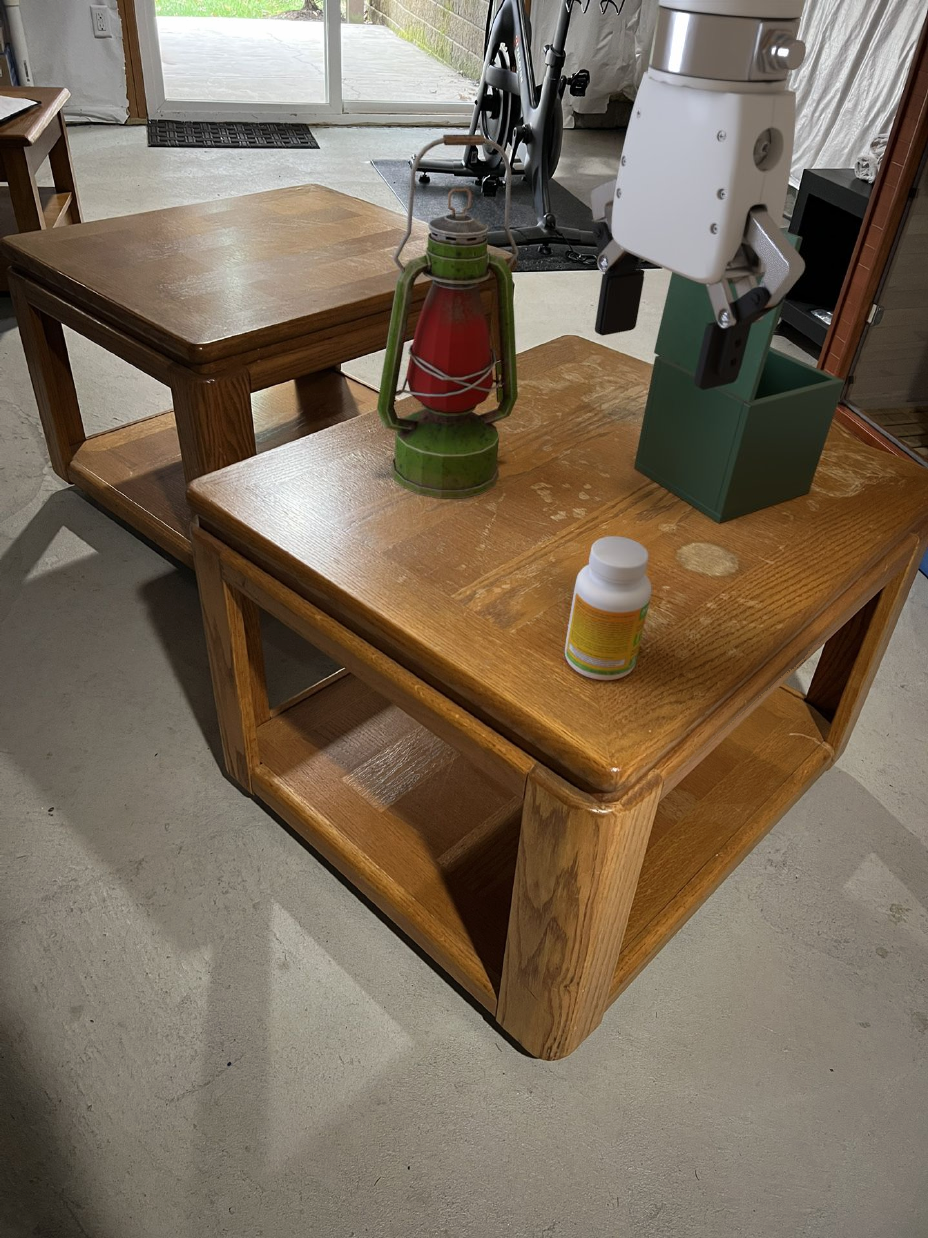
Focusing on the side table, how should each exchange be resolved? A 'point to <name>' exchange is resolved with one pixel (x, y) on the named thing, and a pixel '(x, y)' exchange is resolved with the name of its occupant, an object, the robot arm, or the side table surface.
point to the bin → (737, 436)
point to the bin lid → (689, 320)
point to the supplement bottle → (609, 609)
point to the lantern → (451, 353)
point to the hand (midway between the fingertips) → (662, 356)
